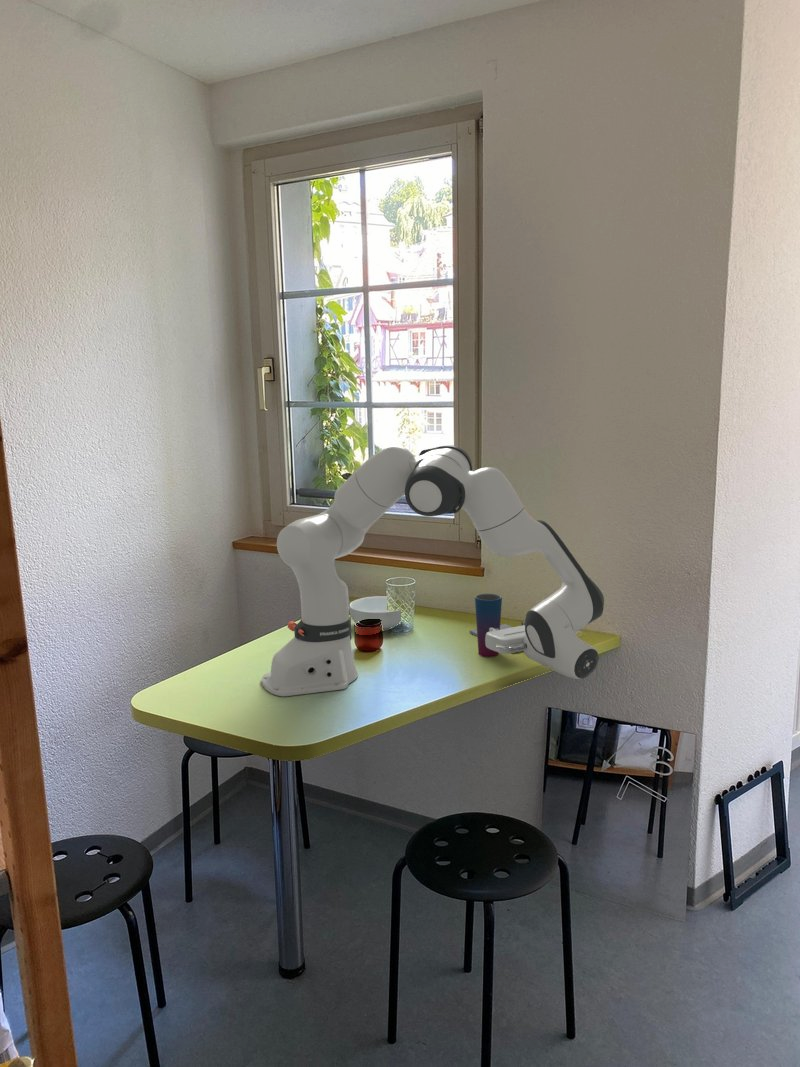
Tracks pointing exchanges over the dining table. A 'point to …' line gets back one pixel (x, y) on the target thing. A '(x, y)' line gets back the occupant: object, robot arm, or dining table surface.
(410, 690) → the dining table surface
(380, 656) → the dining table surface
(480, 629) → the cup
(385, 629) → the cereal bowl
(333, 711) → the dining table surface
